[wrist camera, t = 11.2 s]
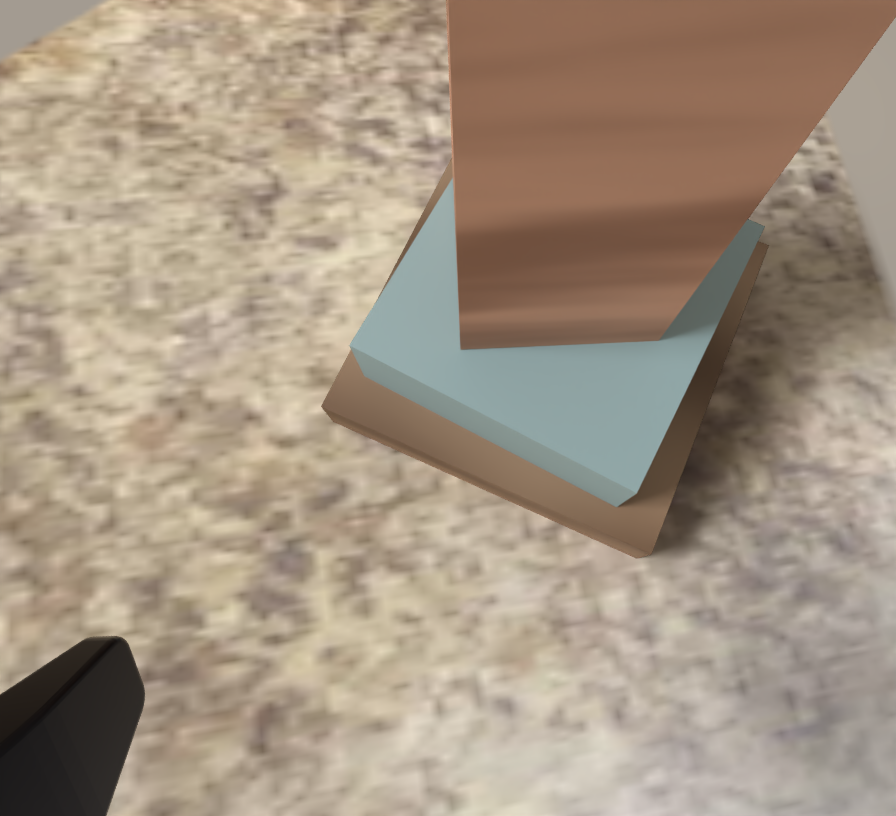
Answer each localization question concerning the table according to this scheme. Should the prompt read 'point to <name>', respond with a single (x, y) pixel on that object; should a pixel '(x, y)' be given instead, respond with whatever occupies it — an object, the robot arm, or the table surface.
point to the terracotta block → (624, 149)
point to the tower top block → (541, 368)
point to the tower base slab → (520, 480)
